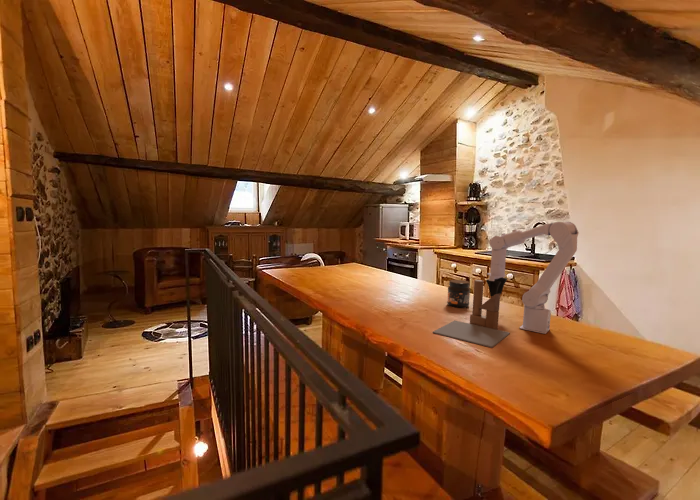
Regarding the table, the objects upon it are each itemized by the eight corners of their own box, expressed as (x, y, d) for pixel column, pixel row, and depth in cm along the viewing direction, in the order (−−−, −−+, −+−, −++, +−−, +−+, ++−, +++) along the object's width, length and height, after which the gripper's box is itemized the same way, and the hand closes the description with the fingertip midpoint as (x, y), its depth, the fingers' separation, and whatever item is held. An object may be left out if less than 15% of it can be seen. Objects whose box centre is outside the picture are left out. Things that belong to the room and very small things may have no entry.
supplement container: (442, 303, 184) (443, 280, 182) (459, 302, 188) (460, 279, 187) (456, 309, 174) (458, 284, 173) (473, 307, 179) (475, 282, 177)
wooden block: (492, 330, 144) (496, 284, 142) (469, 322, 153) (472, 280, 151) (498, 328, 147) (501, 283, 145) (474, 321, 155) (477, 279, 153)
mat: (509, 333, 140) (509, 332, 140) (492, 347, 125) (492, 346, 125) (454, 321, 154) (454, 320, 154) (432, 332, 139) (432, 331, 139)
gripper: (494, 261, 165) (492, 291, 167) (482, 264, 154) (480, 296, 155) (510, 263, 161) (508, 293, 162) (500, 266, 149) (497, 299, 151)
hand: (495, 295), depth 158 cm, fingers open, 6 cm apart
